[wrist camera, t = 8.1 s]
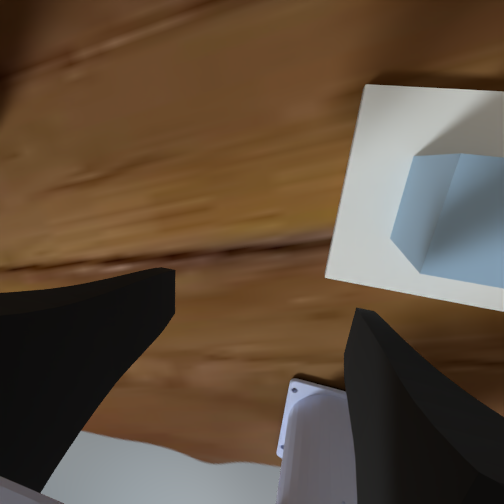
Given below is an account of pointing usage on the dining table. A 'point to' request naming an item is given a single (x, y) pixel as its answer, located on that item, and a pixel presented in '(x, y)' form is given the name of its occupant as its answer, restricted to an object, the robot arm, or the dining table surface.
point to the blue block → (454, 218)
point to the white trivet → (394, 179)
